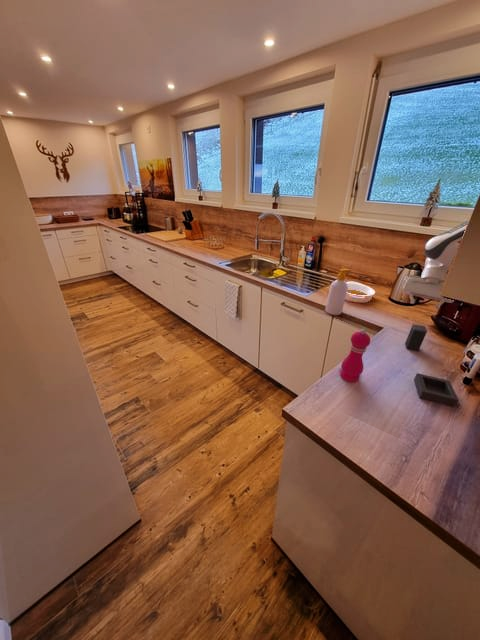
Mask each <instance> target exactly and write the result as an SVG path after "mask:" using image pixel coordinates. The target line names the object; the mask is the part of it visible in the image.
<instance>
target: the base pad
mask: <svg viewBox="0 0 480 640" xmlns="http://www.w3.org/2000/svg"><path fill="white" fill-rule="evenodd" d="M413 382H414V385H415V388H416V392H417V395H418V399H421V400H424V401H428V402H432V403H436V404H440V405H444V406H448V407H450V408H456V406H457V404H458V403H459V397H458V395H457V393H456V391H455V390H454V387H453V385H452V383H451V381H450V380H447V379H444V378H440V377H435V376H432V375H427V374H423V373H418V372H417V373H416V374H415V376H414V378H413Z"/></svg>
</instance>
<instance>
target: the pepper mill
mask: <svg viewBox="0 0 480 640" xmlns="http://www.w3.org/2000/svg"><path fill="white" fill-rule="evenodd" d="M350 342H351V343H350V346H349V348H350V352H349V354H348V355H347V356H346V357H345V358H344V359H343V360H342V362H341V369H340V377H341V378H342V379H343V380H344V381H346V382H349V383H357V382H358V381H359V379H360V375H362V373H363V372H364V362H363V361H364V360H363V354H364V353H366V350H367V348H368V347H369V346H370V344H371V337H370V335H369V334H368V333H367V330H366V329H365V328H361V329H360V330H359V331H356V332H354V333H352V335H351V336H350Z"/></svg>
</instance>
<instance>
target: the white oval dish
mask: <svg viewBox="0 0 480 640" xmlns="http://www.w3.org/2000/svg"><path fill="white" fill-rule="evenodd" d="M346 284H347V286H348V289H347V290H356V291H360V292H363V293H365V294H367V295H356V294H351V293H348V292H347V293H346V297H345V301H348V302H352V301H353V303H369V302H370V300H372V299H373V296H374V295H375V294H376V290H375V289H374V288H373V287H371V286H368V285H365V284H362V283H360V282H359V281H354V282H353V281H350V280H349V281H346ZM368 301H369V302H368Z"/></svg>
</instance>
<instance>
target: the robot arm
mask: <svg viewBox="0 0 480 640" xmlns="http://www.w3.org/2000/svg"><path fill="white" fill-rule="evenodd" d="M469 220H470V219H468V220H466V221H465V222H463V223H461V224H459V225H457V226H455V227H453V228H452V229H449V230H447V231H445V232H443V233H440V234H437V235H435V236H433V237H431V238H430V239H428V241H427V242H425V245H424V251H423V252H424V256H425V257H426V258H425V262H424V268H423V269H422V272H421V275H420V276H419V275H413V274H409V275H406V276H405V277H404V280H403V281H404V284H403V287H402V289H401V293H402V294H404V295H409V296H408V297H409V299H410V302H409V303H410V304H412V305H414V304H415V302H416V298H414V296H415V297H419V298H424V299H430V300H433V301H439V303H436V304H435V306H434V309H435V310H440V308H441V306H442V305H443V304H444V303H448V304H453V303H454V302H455V301H454V300H451V299H447V298H443V297H441V296H440V291H441V288H442V286H443V283H444V280H445V278H446V276H447V275H448V274H447V272H449V271H448V270H449V267H450V265H451V263H452V260H453V258H454V256H455V254H456V251H457V248H458V246H459V244H460V243H459V242H460V241H462V240H463V239H462V236H463V234H464V231H465V229H466V226H467V224H468V221H469ZM461 239H462V240H461Z"/></svg>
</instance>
